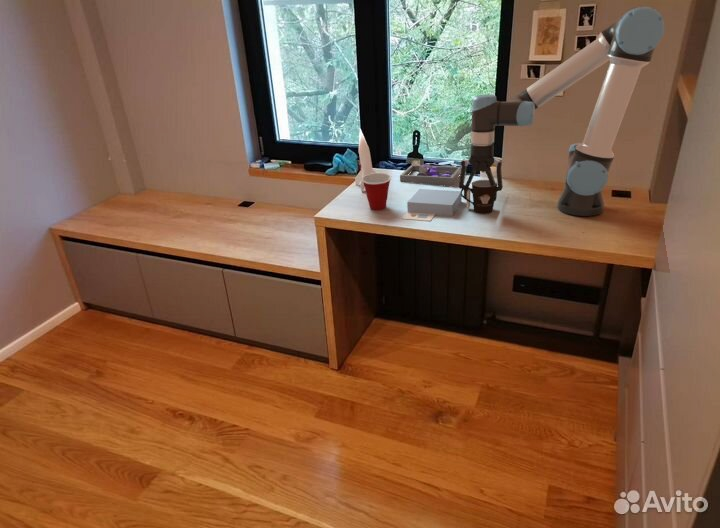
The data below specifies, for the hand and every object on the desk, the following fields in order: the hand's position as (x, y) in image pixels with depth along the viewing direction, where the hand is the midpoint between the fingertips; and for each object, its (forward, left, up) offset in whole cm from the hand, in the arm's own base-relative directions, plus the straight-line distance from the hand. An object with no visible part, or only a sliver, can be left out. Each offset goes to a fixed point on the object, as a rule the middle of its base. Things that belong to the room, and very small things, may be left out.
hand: (479, 208), depth 184 cm
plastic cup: (+36, +6, -1) cm, 37 cm away
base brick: (+16, 0, -1) cm, 16 cm away
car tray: (+26, -33, -1) cm, 42 cm away
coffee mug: (0, 0, -1) cm, 1 cm away
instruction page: (+19, +11, -1) cm, 22 cm away
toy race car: (+24, -33, -1) cm, 41 cm away
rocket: (+44, -15, -1) cm, 47 cm away
